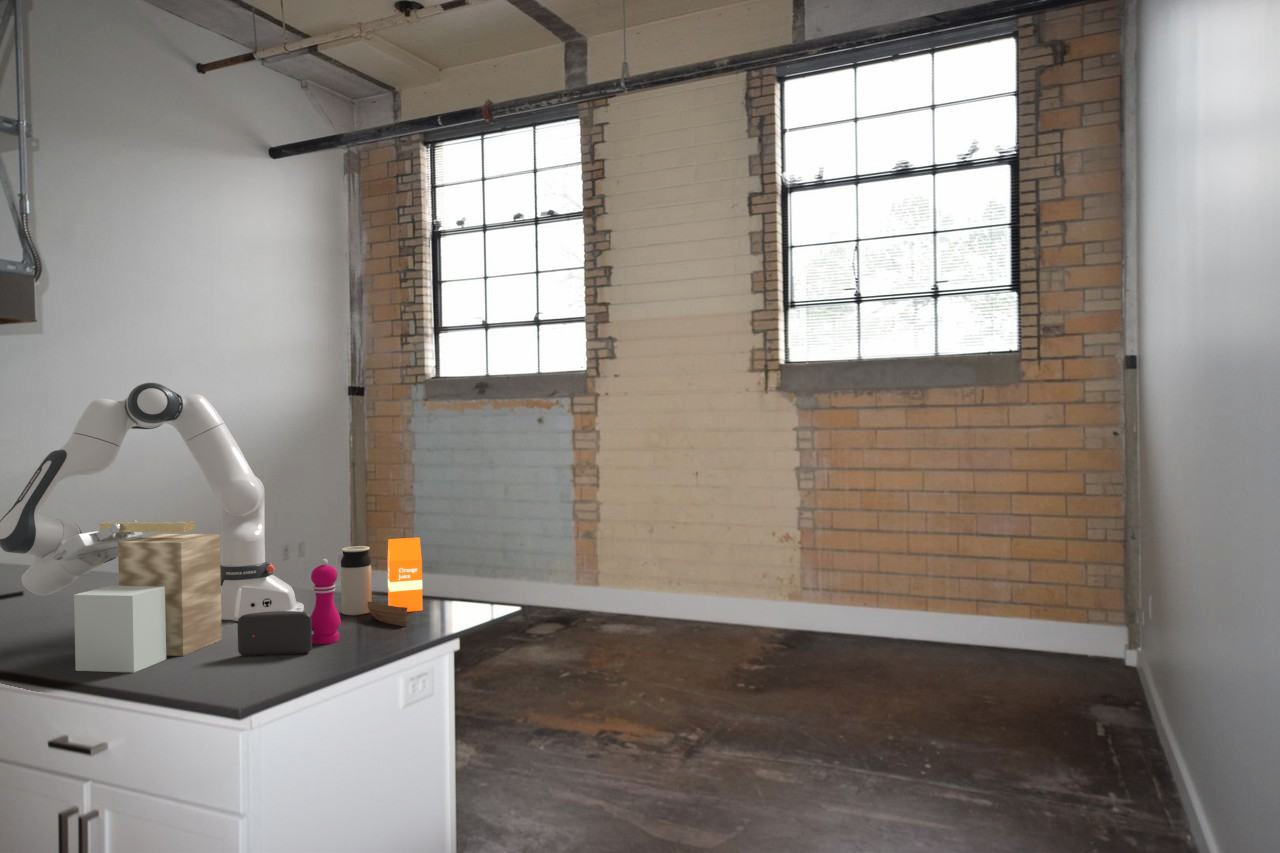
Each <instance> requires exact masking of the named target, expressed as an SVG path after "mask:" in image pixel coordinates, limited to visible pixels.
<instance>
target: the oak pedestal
mask: <svg viewBox="0 0 1280 853" xmlns="http://www.w3.org/2000/svg"><path fill="white" fill-rule="evenodd" d="M117 559H118V586H163V587H165V617H166V656H174V657H177V656H178V657H179V656H180V657H184V656H186V655H189V654H192V653H193V652H196V651H199V650H201V649H204V648H206V647H208V646H210V645H213V644H215V642H216V643H217V642H220V641H222V640H223V639H222V638H223V637H222V636H223V634H222V633H223V632H222V619H221V578H220V565H221V533H220V534H219V533H213V534H212V533H159V534H153V535H148V536H142V538H137V539H132V540H126V541H121V542H118V557H117Z"/></svg>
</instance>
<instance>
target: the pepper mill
mask: <svg viewBox="0 0 1280 853" xmlns="http://www.w3.org/2000/svg"><path fill="white" fill-rule="evenodd" d="M328 563H329V562H328V559H327V558H322V559H321V560H320V562H319V564H320V565H318V566H316V567H315V568H314V569H312V571H311V574H310V580H311V582H312V583H313V585H314V586H313V592H314V594H315V605H314V609H313V611H312V613H311V614H310V616H311V623H312V645H329V644H334V643H336V642H338V641H339V640H340V633H339V631H338V629H339V628H340V627H341V623H342V620H341V616H340V613H339V612H338V609H337V607H336V605H335V600H334V592H335V591H336V584H335V582H336V581H337V579H338V571H337V569H336V568H335V567H334V566H332V565H329V564H328Z"/></svg>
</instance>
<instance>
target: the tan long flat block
mask: <svg viewBox="0 0 1280 853" xmlns="http://www.w3.org/2000/svg"><path fill="white" fill-rule="evenodd" d="M118 523H119V524H121V526H122V530H121V531H119V532H143V533H186V532H192V531H195V530H196V521H191V520H190V521H185V520H183V521H174V520H173V521H172V520H171V521H170V520H169V521H162V520H161V521H156V520H155V521H147V520H146V521H143V520H142V521H137V520H130V521H116V520H115V521H114V520H113V521H112V520H111V521H107V522H101V523H99V530H103V529H106V528H108V527H110V526H112V525H114V524H118Z"/></svg>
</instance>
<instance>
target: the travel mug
mask: <svg viewBox="0 0 1280 853" xmlns="http://www.w3.org/2000/svg"><path fill="white" fill-rule="evenodd" d="M370 549H371V548H370V546H365V545H364V546H363V545H358V546H357V545H355V546H345V547H344V548H341V552H342V558H341V559H340V583H341V584H340V590H341V591H340V594H341V595H340V596H341V600H340V601H341V602H340V603H341V614H343V615H344V616H362V615H367V614H370V611H369V609H368V602H373V600H372V599H373V598H372V596H373V594H372V592H373V590H372V559H371V558H372V557H371V556H370V555H369V552H370Z"/></svg>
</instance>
